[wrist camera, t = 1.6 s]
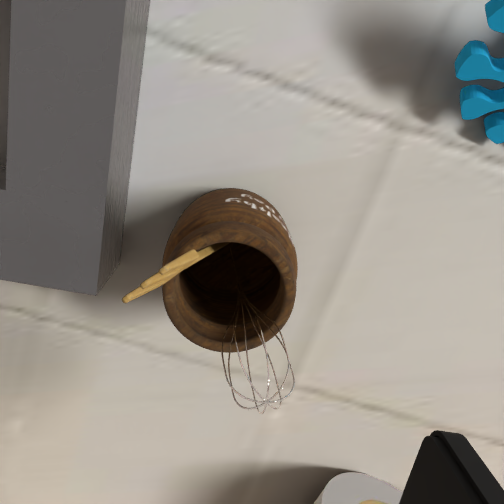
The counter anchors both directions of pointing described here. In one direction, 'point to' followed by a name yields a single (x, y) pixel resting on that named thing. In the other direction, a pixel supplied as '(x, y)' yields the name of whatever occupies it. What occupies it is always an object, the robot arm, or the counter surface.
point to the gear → (483, 77)
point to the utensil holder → (229, 276)
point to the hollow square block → (69, 139)
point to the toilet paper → (358, 490)
